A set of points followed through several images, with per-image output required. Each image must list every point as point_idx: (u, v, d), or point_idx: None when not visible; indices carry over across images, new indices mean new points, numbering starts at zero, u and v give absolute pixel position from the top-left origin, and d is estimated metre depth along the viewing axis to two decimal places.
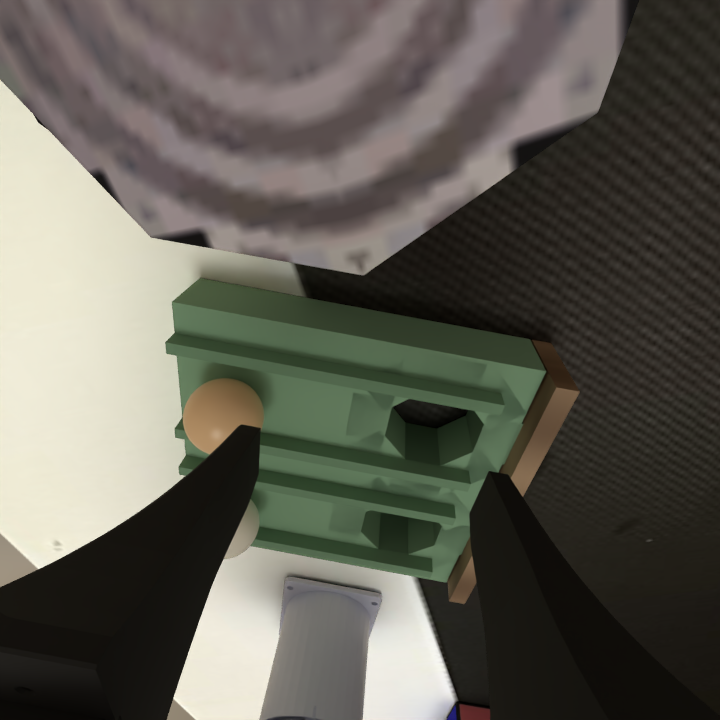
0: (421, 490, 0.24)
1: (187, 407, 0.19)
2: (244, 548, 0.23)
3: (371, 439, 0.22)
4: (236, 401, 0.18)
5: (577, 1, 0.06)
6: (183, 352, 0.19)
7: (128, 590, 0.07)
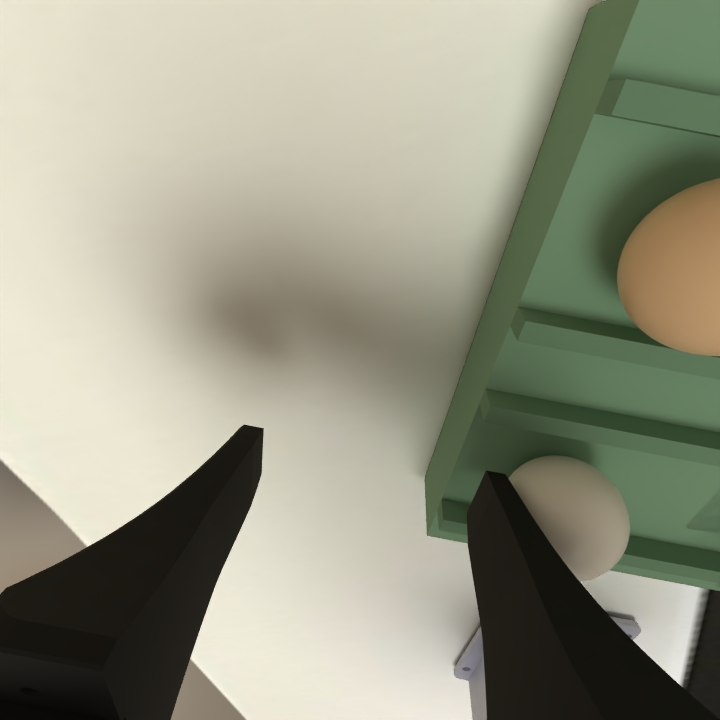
0: None
1: (702, 224, 0.08)
2: None
3: None
4: None
5: None
6: (658, 108, 0.08)
7: (133, 591, 0.07)
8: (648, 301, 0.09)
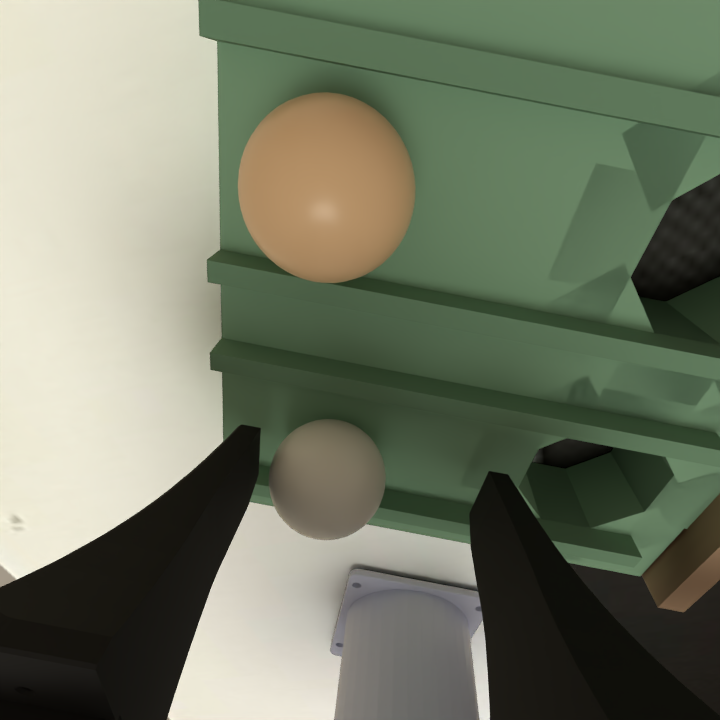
0: (662, 402, 0.13)
1: (253, 139, 0.08)
2: None
3: (598, 286, 0.11)
4: (375, 120, 0.07)
5: None
6: (240, 28, 0.08)
7: (128, 590, 0.07)
8: (246, 224, 0.08)
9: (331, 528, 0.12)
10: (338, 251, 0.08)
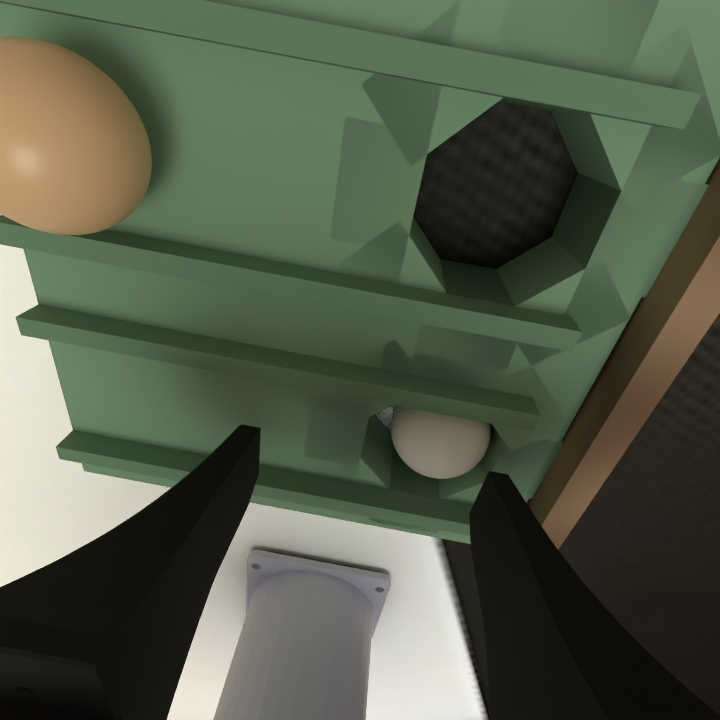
0: (473, 366, 0.13)
1: None
2: None
3: (381, 245, 0.11)
4: (56, 61, 0.07)
5: None
6: None
7: (128, 590, 0.07)
8: None
9: (427, 461, 0.14)
10: (29, 194, 0.08)
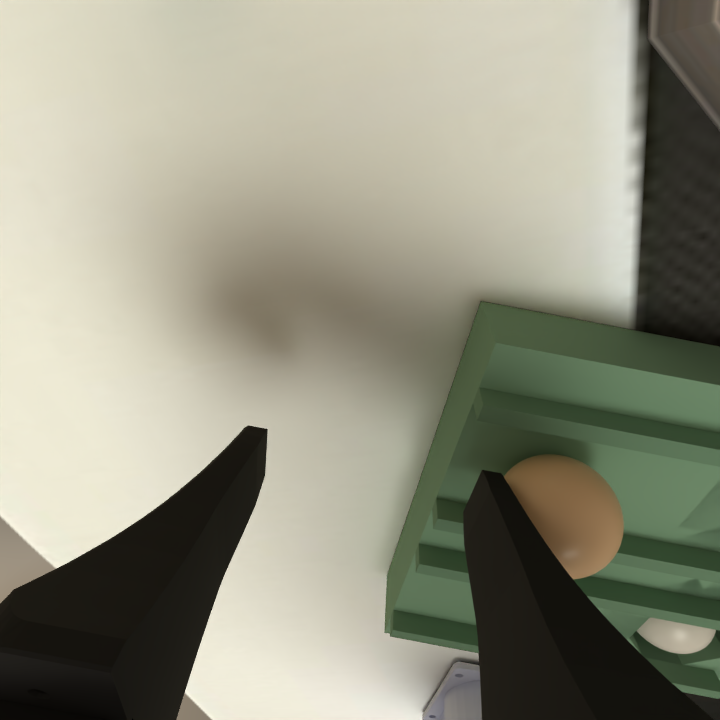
0: None
1: (530, 509, 0.12)
2: None
3: (715, 532, 0.15)
4: (610, 500, 0.12)
5: None
6: (506, 419, 0.12)
7: (140, 592, 0.07)
8: None
9: (653, 633, 0.19)
10: (583, 577, 0.12)
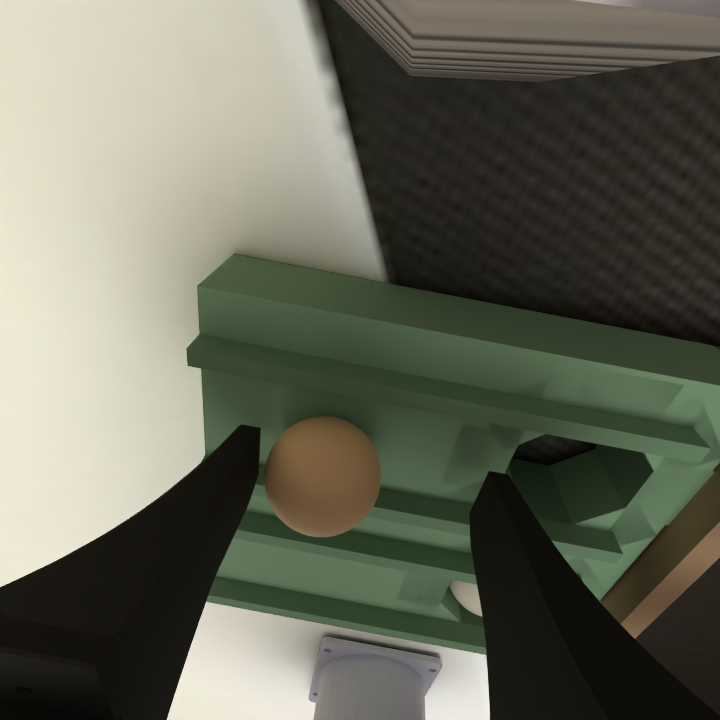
0: None
1: (329, 496, 0.11)
2: None
3: (477, 488, 0.15)
4: (343, 424, 0.13)
5: None
6: (214, 364, 0.12)
7: (128, 590, 0.07)
8: (332, 534, 0.12)
9: (464, 599, 0.19)
10: None
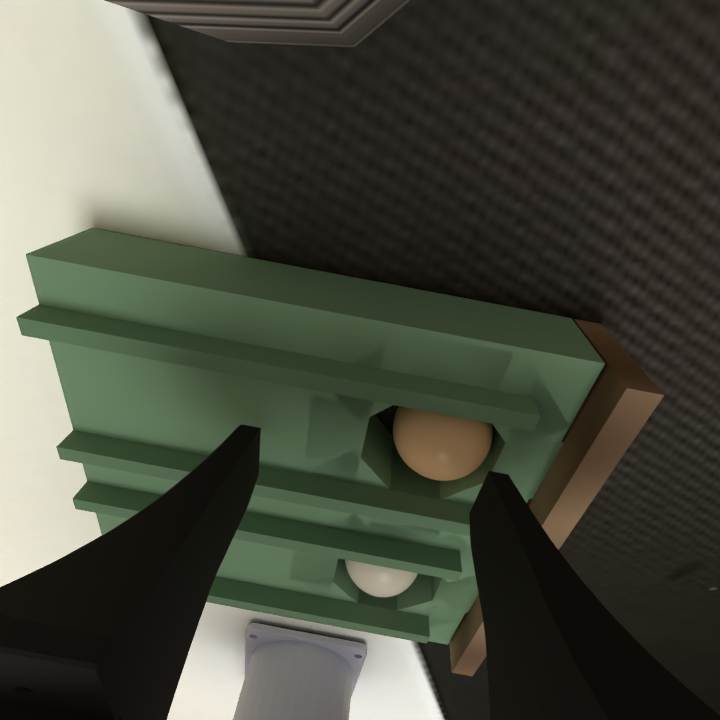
0: (414, 531, 0.17)
1: (430, 435, 0.14)
2: None
3: (341, 462, 0.15)
4: None
5: None
6: (46, 333, 0.12)
7: (128, 590, 0.07)
8: (423, 471, 0.15)
9: (357, 579, 0.19)
10: (482, 461, 0.15)
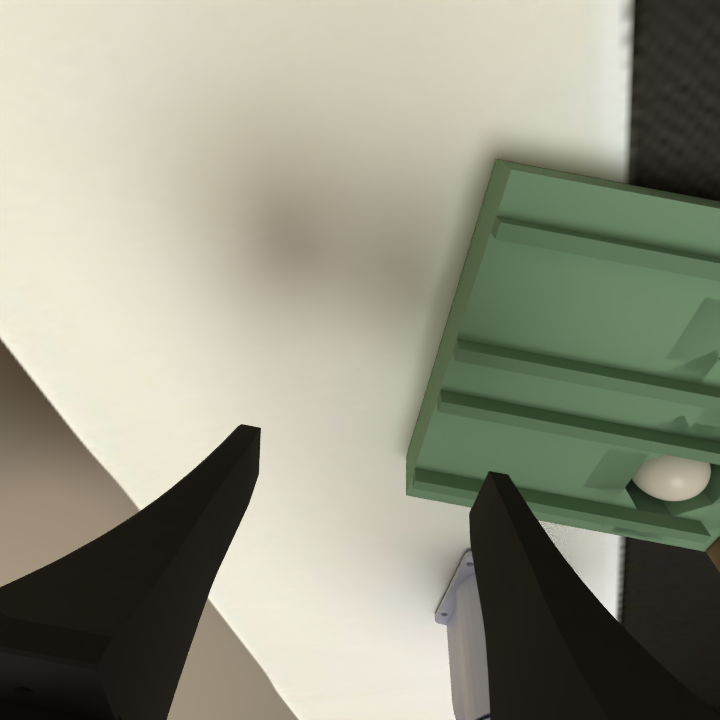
0: None
1: None
2: None
3: (698, 363, 0.18)
4: None
5: None
6: (519, 236, 0.15)
7: (128, 590, 0.07)
8: None
9: (664, 486, 0.21)
10: None
